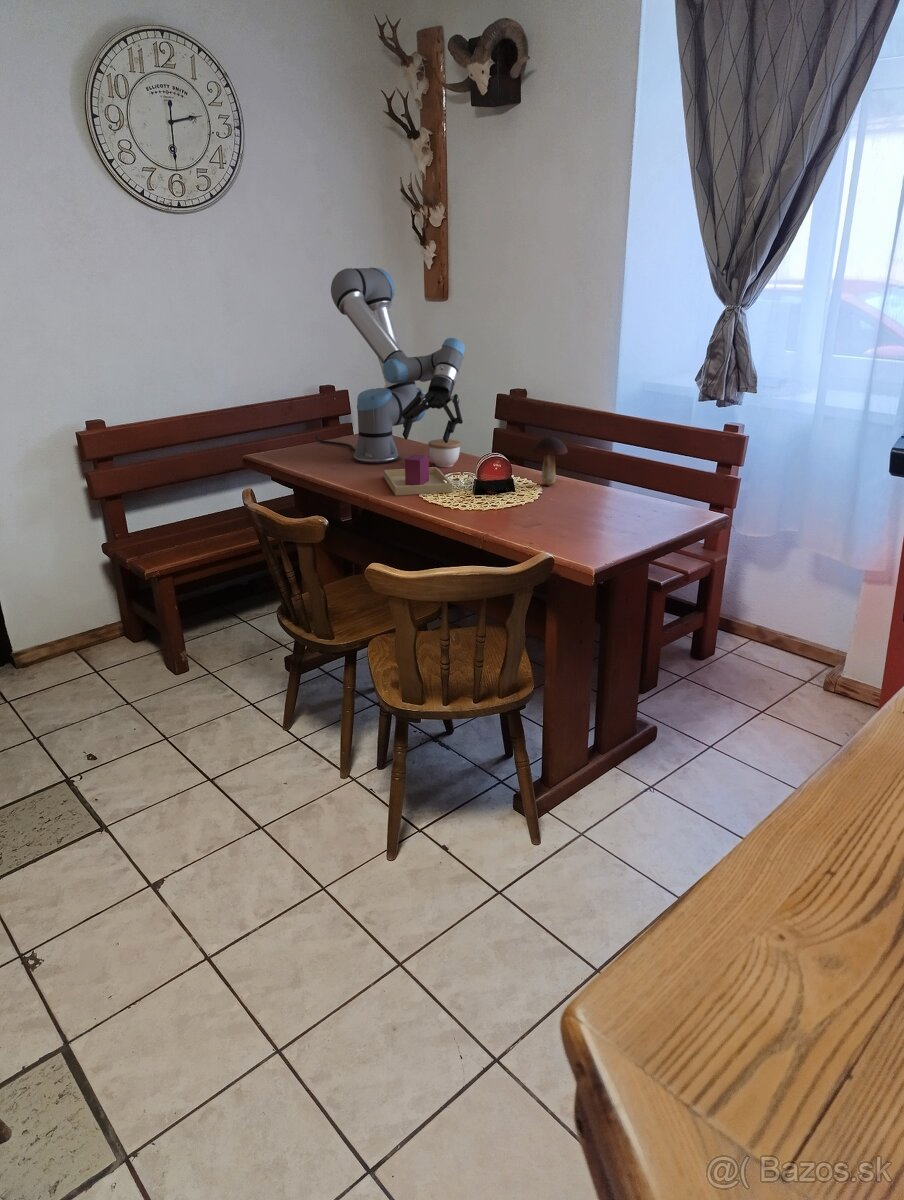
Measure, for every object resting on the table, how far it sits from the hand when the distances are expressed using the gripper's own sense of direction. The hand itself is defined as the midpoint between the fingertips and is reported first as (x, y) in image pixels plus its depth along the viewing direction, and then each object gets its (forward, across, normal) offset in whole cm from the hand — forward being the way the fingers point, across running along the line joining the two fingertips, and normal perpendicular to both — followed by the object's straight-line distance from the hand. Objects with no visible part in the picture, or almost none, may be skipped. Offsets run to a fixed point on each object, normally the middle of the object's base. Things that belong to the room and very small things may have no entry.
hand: (424, 438), depth 252 cm
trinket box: (-4, -1, +23) cm, 23 cm away
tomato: (+13, +25, +4) cm, 29 cm away
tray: (+14, +1, +4) cm, 15 cm away
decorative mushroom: (+4, +38, +14) cm, 41 cm away
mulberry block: (+14, +1, +3) cm, 14 cm away
